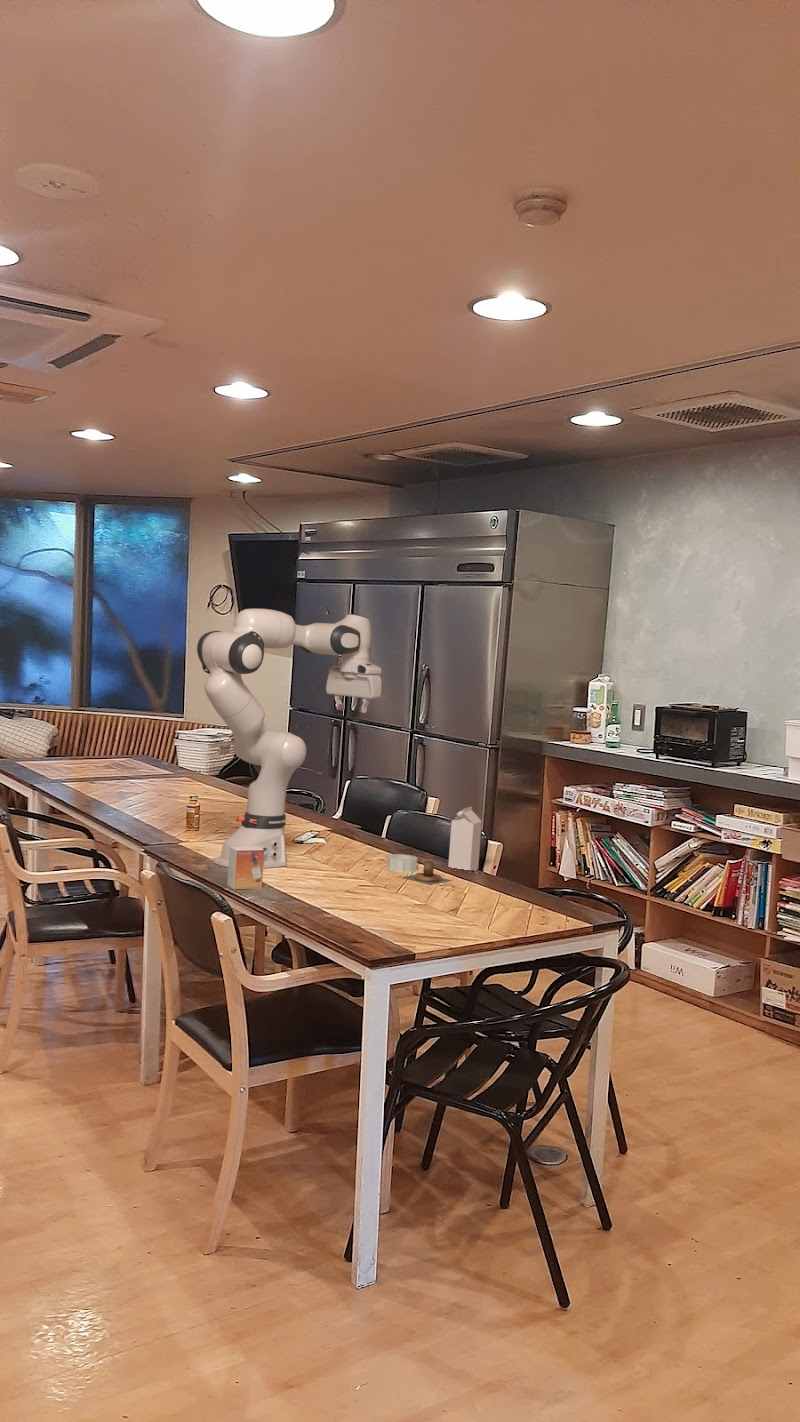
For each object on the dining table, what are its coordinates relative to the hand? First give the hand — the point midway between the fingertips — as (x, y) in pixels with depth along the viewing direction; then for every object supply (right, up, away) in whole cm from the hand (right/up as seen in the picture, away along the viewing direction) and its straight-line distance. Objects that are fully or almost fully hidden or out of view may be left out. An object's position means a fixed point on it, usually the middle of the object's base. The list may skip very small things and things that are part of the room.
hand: (351, 711), depth 340 cm
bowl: (+16, -47, -18) cm, 53 cm away
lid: (+23, -48, -29) cm, 61 cm away
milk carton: (+34, -48, -11) cm, 60 cm away
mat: (+23, -48, -29) cm, 61 cm away
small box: (-26, -47, -52) cm, 75 cm away
